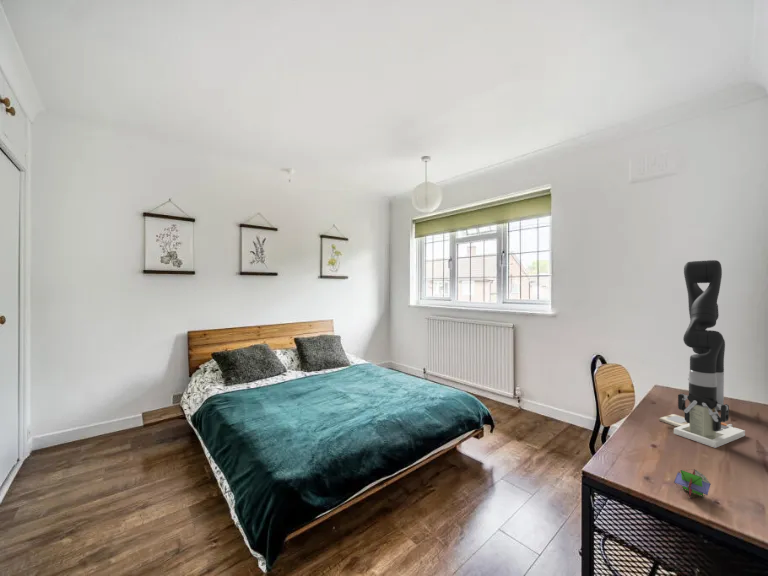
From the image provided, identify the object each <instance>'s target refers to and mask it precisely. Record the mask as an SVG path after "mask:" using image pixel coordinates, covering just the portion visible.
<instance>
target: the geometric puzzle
mask: <svg viewBox="0 0 768 576" xmlns="http://www.w3.org/2000/svg"><path fill="white" fill-rule="evenodd" d="M690 470H693V472H692V473H691V472H688V471H689V469H686V470H684V469H680V471H678V472H677V474H676V476H675V479H674V481H673V483H674V484H676V485H677V487H680V486H681V489H682V488H683V489H686V490H685V491H687V490H688V496H689V497H690V499H692V498H693V496H692V494H695V493H696V494H695V495H697V494H698V495H697V496H696V498H700V495H702V496H703V497H706V496H708V494H709V491H710V487H711V484H712V483H710V481H709V479H708V478H707V477H706V475H705V474H703V473H702V472H700V471H698V470H697V469H695V468H693V469H690ZM683 489H682V490H683ZM692 492H693V493H692ZM691 496H692V497H691ZM702 496H701V497H702ZM689 497H688V498H689Z"/></svg>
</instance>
